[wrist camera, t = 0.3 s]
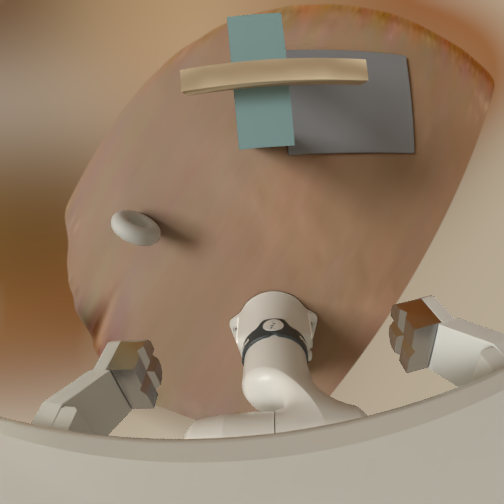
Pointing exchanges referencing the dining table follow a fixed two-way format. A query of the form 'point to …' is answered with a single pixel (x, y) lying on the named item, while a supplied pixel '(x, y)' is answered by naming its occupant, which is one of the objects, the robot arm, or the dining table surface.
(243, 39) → the teal arch
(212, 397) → the dining table surface
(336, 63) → the stick
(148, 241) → the donut
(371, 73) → the mat
